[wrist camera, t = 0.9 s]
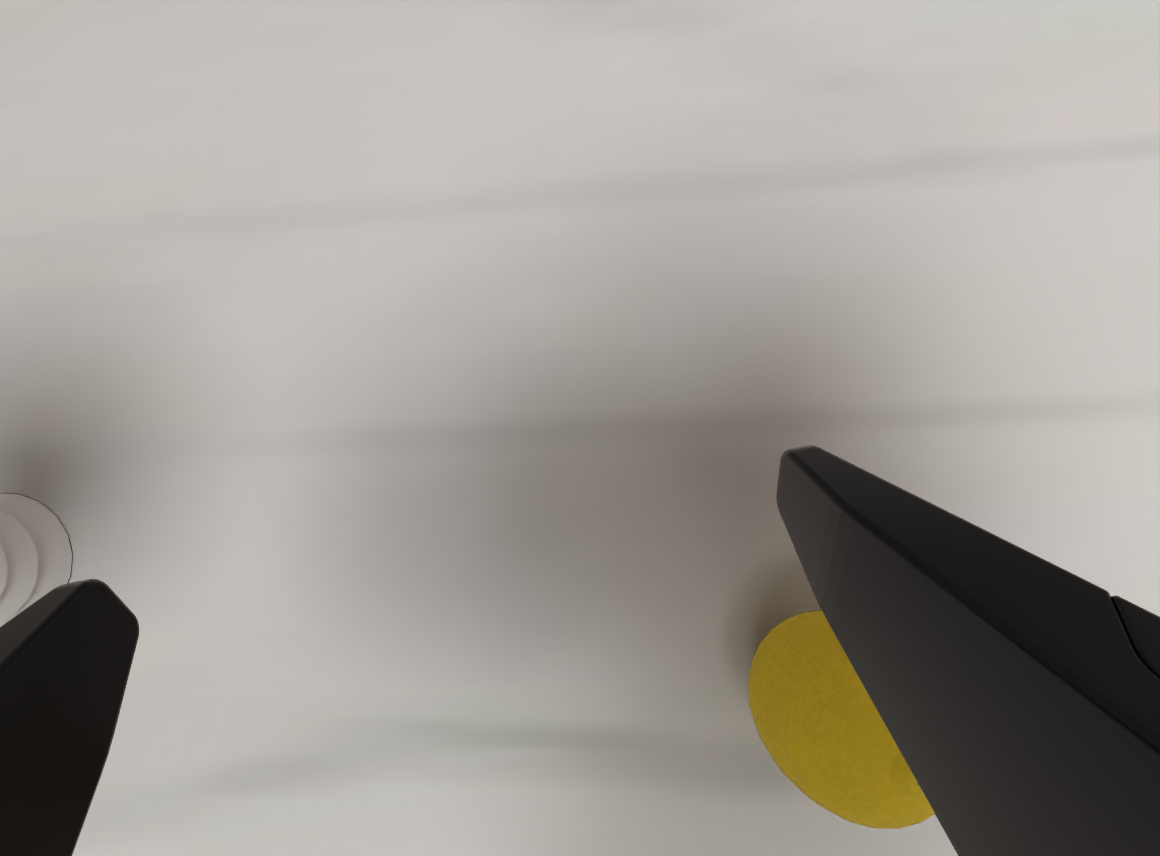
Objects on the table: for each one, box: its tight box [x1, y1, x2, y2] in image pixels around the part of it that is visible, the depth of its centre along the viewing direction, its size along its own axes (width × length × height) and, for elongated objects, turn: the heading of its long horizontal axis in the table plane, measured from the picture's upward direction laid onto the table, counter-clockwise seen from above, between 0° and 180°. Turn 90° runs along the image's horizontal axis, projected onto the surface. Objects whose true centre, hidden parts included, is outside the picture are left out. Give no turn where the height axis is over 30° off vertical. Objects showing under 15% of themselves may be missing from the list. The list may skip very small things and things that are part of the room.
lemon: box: [748, 610, 935, 828], centre depth 18 cm, size 6×6×8 cm
